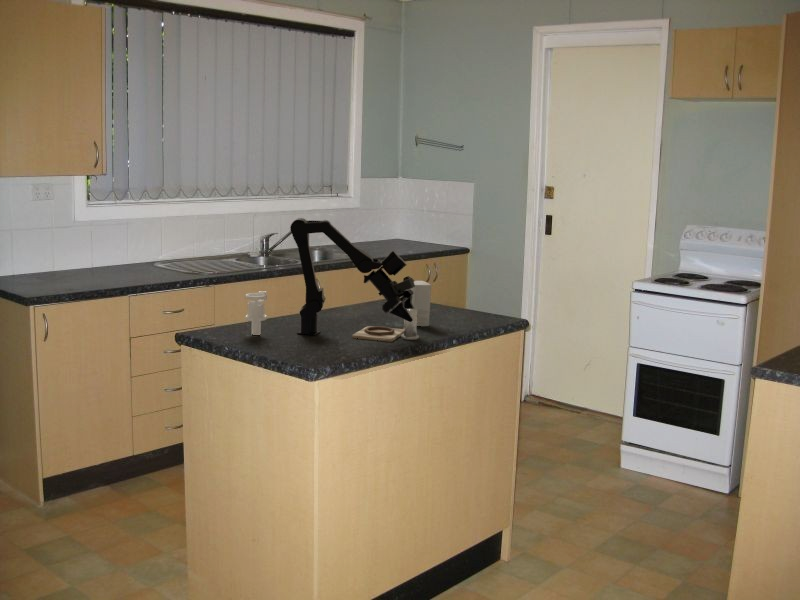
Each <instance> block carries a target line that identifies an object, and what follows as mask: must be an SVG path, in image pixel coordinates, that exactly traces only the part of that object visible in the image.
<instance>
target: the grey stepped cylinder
mask: <svg viewBox="0 0 800 600" xmlns="http://www.w3.org/2000/svg"><path fill="white" fill-rule="evenodd" d="M267 292H268V291H266V290H264V291H263V290H259V291H258V292H249V293H246V294H245V296H244V297H245V300H249V301H248V302H247V314H246V315H245V321H248V322H251V335H252V334H253V335H260V334H261V335H262V333H261V329H262V324H261V323H262V322H264V321H266V320H268V315H267V314H265V303H267V302H268V301H267V299H268V293H267ZM261 335H260V336H261Z"/></svg>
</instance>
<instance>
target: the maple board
mask: <svg viewBox="0 0 800 600" xmlns="http://www.w3.org/2000/svg"><path fill="white" fill-rule="evenodd" d="M402 334H404V328H394V327H393V328H392V327H389V326H381V325H380V326H379V325H377V326H373V325H367V326H366V327H363V328H362V329H360V330H359V331H357V332H354V333H353V334H352V335H351V339H357V338H358V339H359V340H368V341H369V340H370V341H377V340H378V341H377V342H379V341H380V342H388V343H392V342H394V341H395V340H397V339H398V338H399V337H401V335H402Z"/></svg>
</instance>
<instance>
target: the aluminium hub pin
mask: <svg viewBox="0 0 800 600" xmlns="http://www.w3.org/2000/svg"><path fill="white" fill-rule="evenodd" d="M406 310H407V311H408V313H409V314H410V316H411V317H412V319H413V321H412V322H409V321H407V320H405V319H403V329H404V334H402V335H401V336H400V337H401V338H402V339H401V340H404V339H405V341H417V339H418V340H419V339H420V335H419V334H418V333H417V331H418V327H417V309H415V308H406Z"/></svg>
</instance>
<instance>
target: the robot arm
mask: <svg viewBox="0 0 800 600" xmlns="http://www.w3.org/2000/svg"><path fill="white" fill-rule="evenodd" d="M289 230H290V233H291V234H292V238H293V240H294V242H295V244H296V246H297V249H298V255H299V259H300V263H301V269H302V274H303V278H304V279H303V280H304V284H305V303H304V305H302V306H301V309H300V311H299V315H300V330H299V331H297V332H296V335H304V334H305V336H316V335H317V334H319V333H321V332H322V330H320V329H319V330H318V313H319V312H321V311H322V309H323V307H324V305H325V302H326V297H325V294H324V287H321V288H320V287H319V285H318V282H317V277H316V273H315V267H314V263H313V258H312V257H313V256H312V252H311V248H310V247H311V246H310V234H319V233H322V234H324V235H325V236H326V237H327V238H328V239H329V240H331V241H332V242H333V243H334V244H335V245H336V246H337V247H338V248H339V249H340V250H341V251H343V253H344V254H346V255H347V256H348V258H349V259H350V261H351V262H352V264H353V265H354V266H355V268H356V269H357V270H358V271H359V272H360V273H361V274H365V275H363V283H364V284H368V283H369V282H370V283H371V284H372V286H374V287H375V289H376V290H377V291H378V293H377V294H378V295H379V296H382V297H383V299H385V301H386V302H384V303H383V305H381V306H382V307H381V310H382V311H383V312H384V314H387V313H389V314H391V315H394V316H395V317H396V316H397V317H399V318H401V319H403V320H404V319H405V320H407V321H409V322H412V321H413V319H412V317H411V316H410V314H409V313H408V311H407V310H406V308H414V307H413V305H412V297H413V296H412V295H413V294H414V293H413V291H412V290H411V288H413V287H415V284H414V281H415V279H413V277H411V276H409V275H408V276H404V277H403V280H402V281H400V282H397V281H396V280H392V279H391V278H390V277H389V276H396V275H397V274H399V272H401V271H402V270H403V269H404V268H406V267H407V262H405V261H404V258H402V257H401V256H400V255H399V254H398V253H396V252H395V251H394V250H392V251H390V253H389V254H388V255H387V256H386V257H384V258H383V259H377V258H373V257H372V256H371V255H370V254H368V253H367V252H365V251H364V250H362V249H360V248H359V247H357V246H356V245H355V244H353V243H352V242H351V241H350V240H349V239H348V238H347V237H345V235H343V234H342V233H341V232H340V231H339V229H337V228H336V227H335V226H334V225H333V224H332V223H331V221H329V220H327V219H324V220H312V219H311V220H307V219H306V218H303V217H297V218H296V219H294V220H293V221H292V223H291V224H290V227H289ZM366 274H367V275H366ZM417 317H418V316H417Z"/></svg>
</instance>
